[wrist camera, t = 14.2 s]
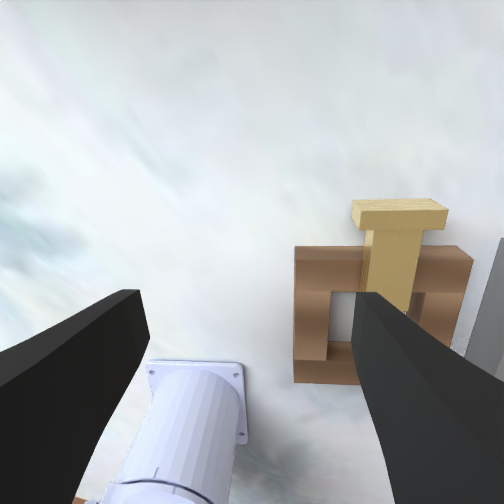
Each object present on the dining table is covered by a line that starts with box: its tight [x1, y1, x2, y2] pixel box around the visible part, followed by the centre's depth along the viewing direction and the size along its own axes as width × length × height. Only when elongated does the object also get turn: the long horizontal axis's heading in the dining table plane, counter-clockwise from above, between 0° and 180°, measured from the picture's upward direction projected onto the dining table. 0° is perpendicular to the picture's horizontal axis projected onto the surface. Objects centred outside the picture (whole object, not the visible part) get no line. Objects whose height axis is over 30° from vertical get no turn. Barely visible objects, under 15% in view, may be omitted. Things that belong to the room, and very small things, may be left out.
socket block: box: [293, 246, 474, 385], centre depth 21 cm, size 10×10×2 cm
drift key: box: [351, 199, 448, 312], centre depth 17 cm, size 6×4×2 cm, turn 2°
